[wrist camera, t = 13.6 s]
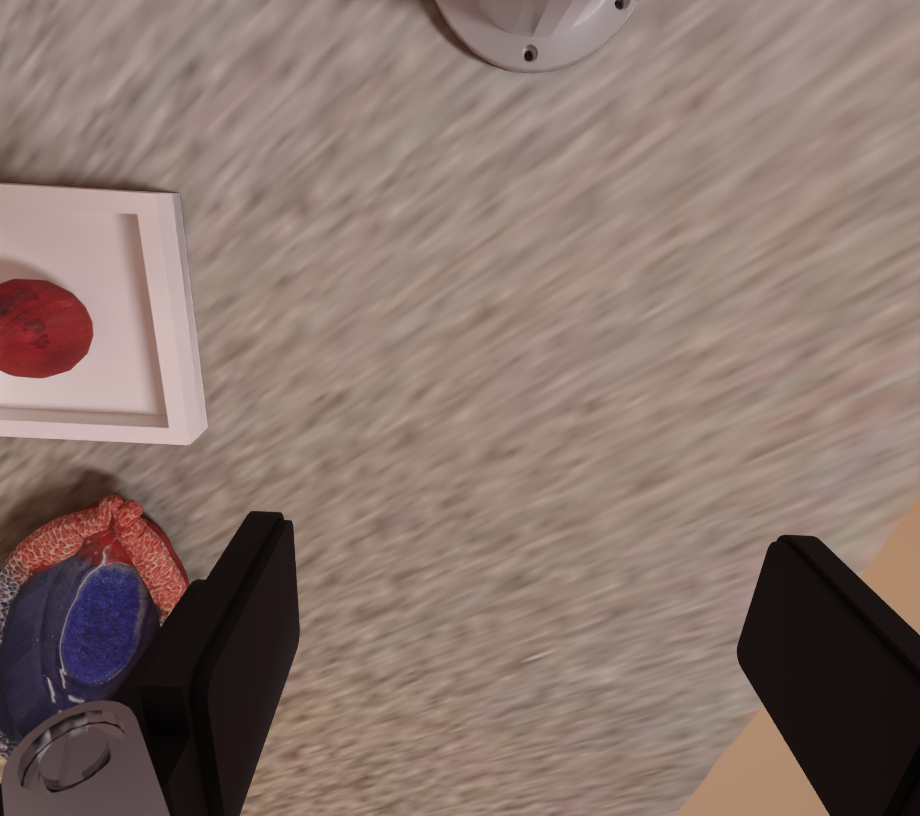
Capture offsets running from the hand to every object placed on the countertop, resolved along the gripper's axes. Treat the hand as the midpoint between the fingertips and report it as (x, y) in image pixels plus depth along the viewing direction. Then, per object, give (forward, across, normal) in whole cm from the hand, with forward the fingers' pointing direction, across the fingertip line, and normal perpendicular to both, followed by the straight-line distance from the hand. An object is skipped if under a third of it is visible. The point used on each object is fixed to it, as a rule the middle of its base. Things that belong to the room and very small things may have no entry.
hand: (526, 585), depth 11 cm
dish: (+29, +30, +29) cm, 50 cm away
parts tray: (+28, +27, +2) cm, 39 cm away
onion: (+28, +26, +2) cm, 38 cm away
